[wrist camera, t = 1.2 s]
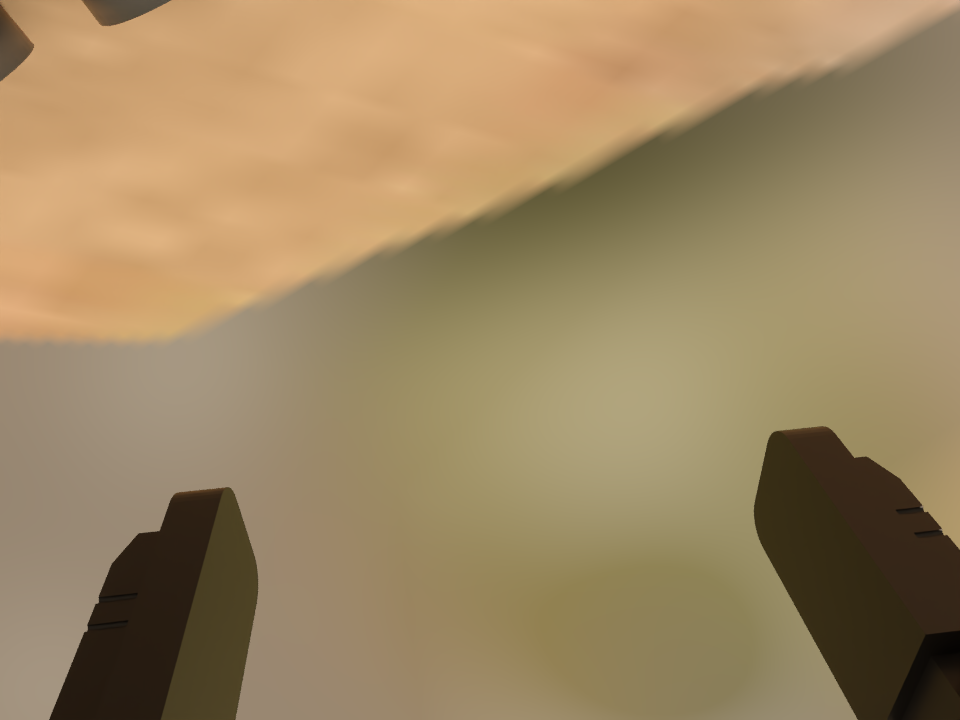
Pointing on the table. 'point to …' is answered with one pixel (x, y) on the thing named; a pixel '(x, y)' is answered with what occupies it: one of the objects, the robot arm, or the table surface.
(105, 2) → the chassis bay
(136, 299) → the table surface
